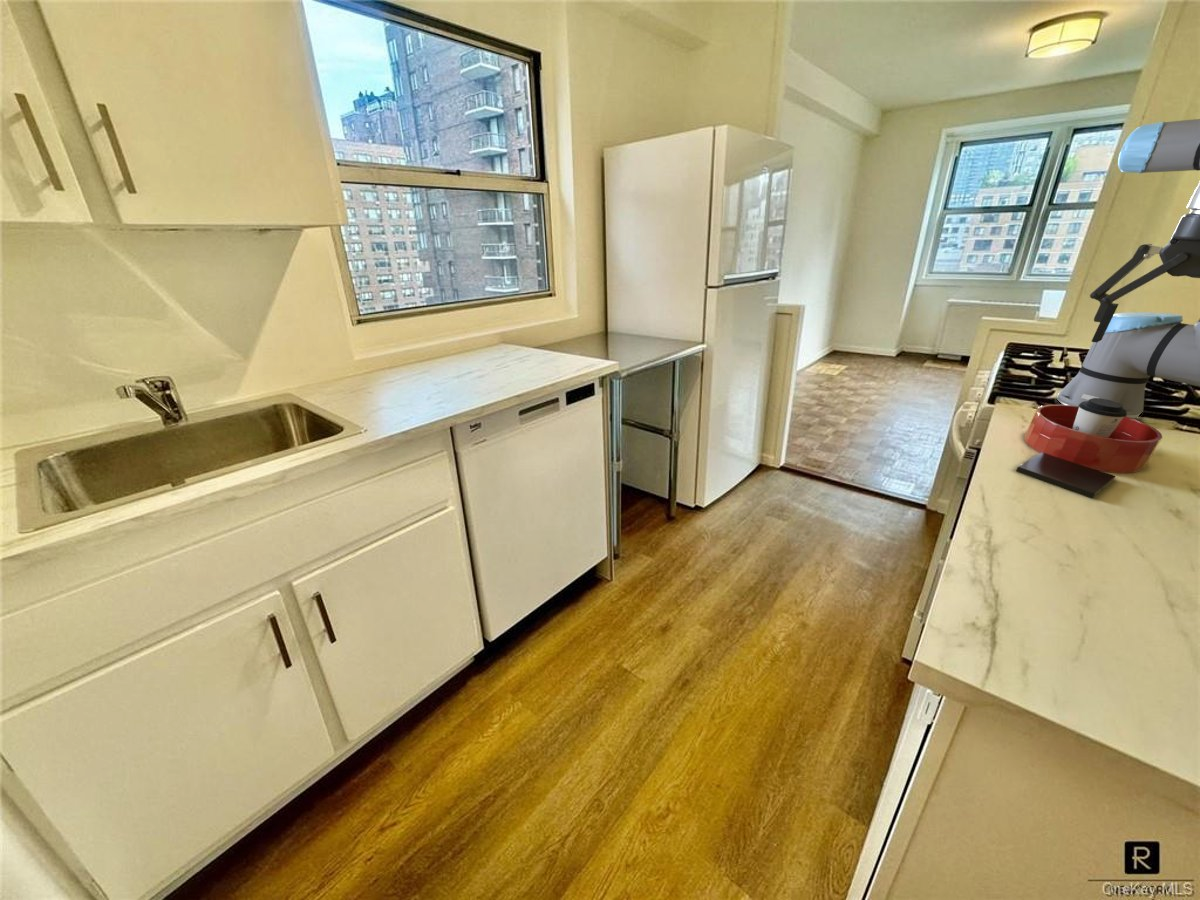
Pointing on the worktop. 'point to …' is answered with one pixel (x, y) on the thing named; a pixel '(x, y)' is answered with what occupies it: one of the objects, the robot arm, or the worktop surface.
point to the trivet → (1066, 474)
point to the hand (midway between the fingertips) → (1148, 349)
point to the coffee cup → (1098, 417)
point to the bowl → (1092, 441)
